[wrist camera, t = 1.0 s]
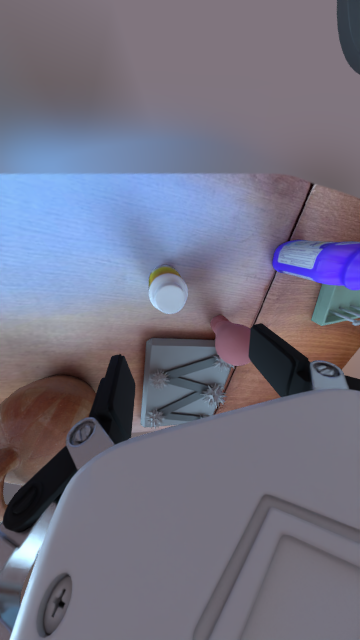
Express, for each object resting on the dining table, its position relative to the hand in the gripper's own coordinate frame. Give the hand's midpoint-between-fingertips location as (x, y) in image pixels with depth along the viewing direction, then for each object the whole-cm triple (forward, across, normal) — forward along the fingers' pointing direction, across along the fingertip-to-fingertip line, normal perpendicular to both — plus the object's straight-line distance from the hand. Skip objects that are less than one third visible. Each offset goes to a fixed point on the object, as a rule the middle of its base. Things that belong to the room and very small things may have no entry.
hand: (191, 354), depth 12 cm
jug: (+21, +27, +21) cm, 40 cm away
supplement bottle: (+21, 0, -1) cm, 21 cm away
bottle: (+20, -24, -1) cm, 32 cm away
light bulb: (+21, -10, +10) cm, 25 cm away
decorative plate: (+21, 0, +27) cm, 34 cm away
